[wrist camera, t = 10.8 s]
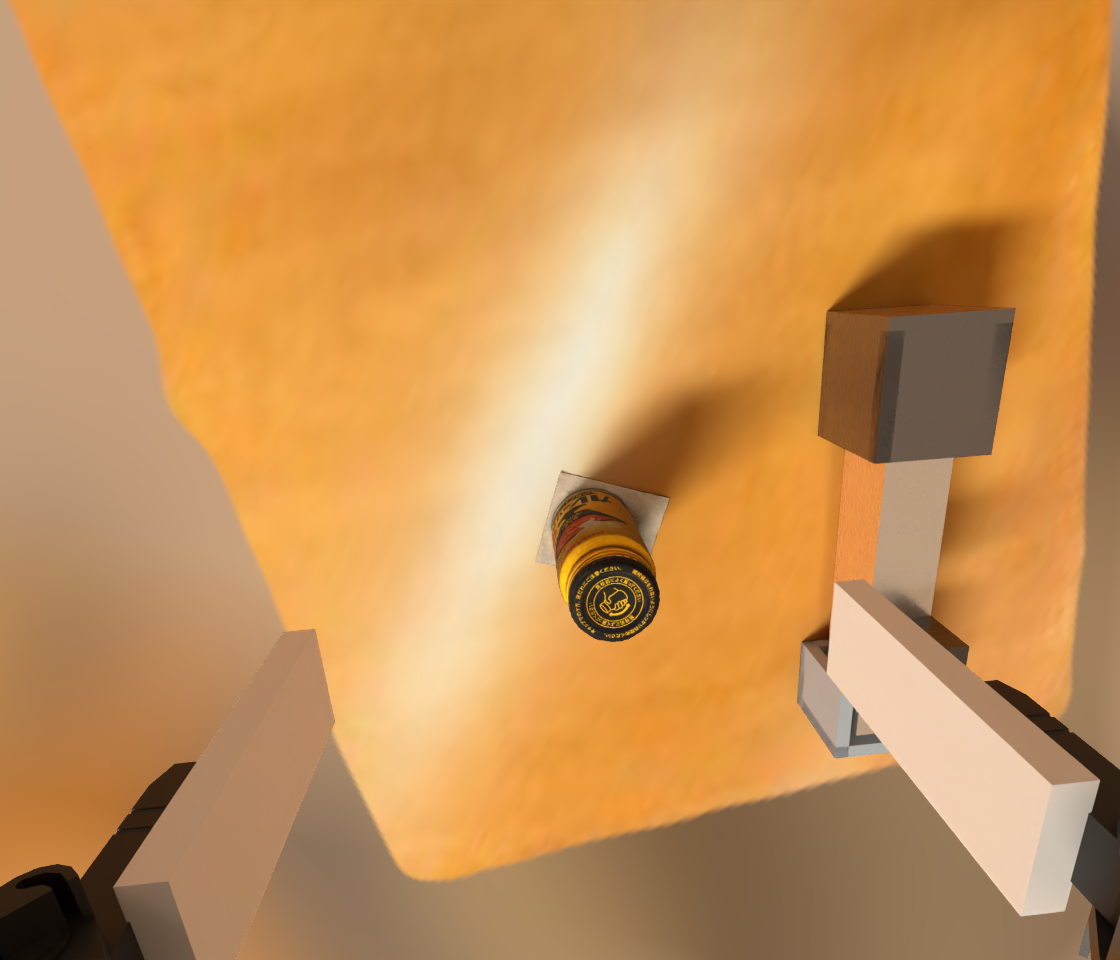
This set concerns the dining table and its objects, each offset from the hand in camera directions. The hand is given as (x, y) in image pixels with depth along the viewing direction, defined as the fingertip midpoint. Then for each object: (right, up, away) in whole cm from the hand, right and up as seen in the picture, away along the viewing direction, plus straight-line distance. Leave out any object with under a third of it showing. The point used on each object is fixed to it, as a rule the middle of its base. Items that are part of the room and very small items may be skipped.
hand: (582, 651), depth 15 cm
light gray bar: (+23, -3, +32) cm, 39 cm away
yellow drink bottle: (+3, +1, +30) cm, 31 cm away
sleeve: (+22, +12, +28) cm, 37 cm away
